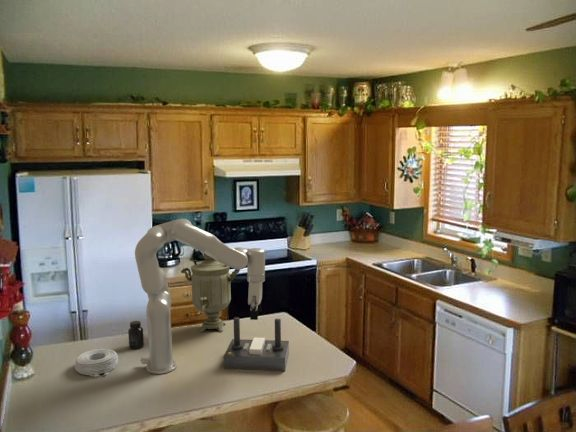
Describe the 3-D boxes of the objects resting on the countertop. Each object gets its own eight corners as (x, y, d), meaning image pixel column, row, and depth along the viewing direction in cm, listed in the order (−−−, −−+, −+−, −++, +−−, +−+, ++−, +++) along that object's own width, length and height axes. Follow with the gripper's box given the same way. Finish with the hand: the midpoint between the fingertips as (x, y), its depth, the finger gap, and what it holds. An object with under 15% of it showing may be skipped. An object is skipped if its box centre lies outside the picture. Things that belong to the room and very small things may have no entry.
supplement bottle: (147, 345, 251) (146, 321, 249) (136, 351, 245) (134, 326, 243) (137, 342, 254) (135, 318, 253) (125, 347, 249) (124, 323, 247)
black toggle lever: (271, 350, 230) (271, 321, 228) (273, 346, 234) (272, 317, 232) (282, 351, 229) (282, 321, 227) (283, 346, 234) (283, 317, 232)
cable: (104, 379, 218) (103, 365, 217) (66, 375, 222) (65, 361, 221) (125, 361, 235) (125, 348, 234) (90, 358, 238) (89, 345, 237)
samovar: (169, 334, 264) (166, 256, 258) (198, 317, 288) (195, 245, 282) (222, 343, 253) (219, 261, 247) (247, 325, 277) (245, 249, 271)
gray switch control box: (224, 368, 226) (223, 353, 225) (232, 351, 244) (232, 337, 243) (285, 371, 224) (285, 355, 222) (289, 353, 241) (288, 339, 240)
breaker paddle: (249, 364, 227) (249, 349, 226) (254, 352, 240) (254, 337, 239) (261, 365, 227) (260, 349, 226) (265, 352, 240) (265, 337, 238)
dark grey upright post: (230, 349, 231) (229, 320, 229) (232, 345, 236) (232, 316, 234) (241, 349, 231) (240, 320, 229) (243, 345, 236) (242, 316, 234)
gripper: (250, 271, 236) (250, 308, 239) (243, 282, 219) (243, 322, 222) (267, 272, 236) (266, 309, 238) (261, 283, 219) (261, 323, 221)
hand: (255, 315), depth 230 cm, fingers open, 9 cm apart
